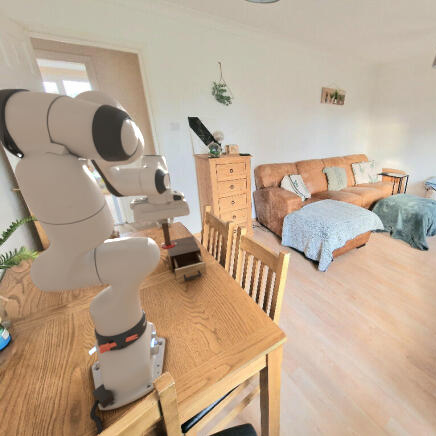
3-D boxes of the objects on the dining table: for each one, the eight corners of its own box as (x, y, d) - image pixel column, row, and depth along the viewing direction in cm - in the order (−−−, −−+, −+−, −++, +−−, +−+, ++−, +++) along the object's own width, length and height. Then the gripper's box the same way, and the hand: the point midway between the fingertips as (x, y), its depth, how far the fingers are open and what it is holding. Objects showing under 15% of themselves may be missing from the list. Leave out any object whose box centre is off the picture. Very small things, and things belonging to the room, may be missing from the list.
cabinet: (202, 264, 119) (200, 249, 116) (172, 272, 112) (169, 256, 109) (195, 249, 132) (193, 235, 129) (167, 255, 125) (165, 241, 122)
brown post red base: (176, 247, 102) (172, 223, 98) (162, 250, 99) (157, 225, 95) (174, 241, 106) (171, 218, 102) (160, 244, 104) (156, 221, 99)
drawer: (208, 280, 106) (207, 267, 104) (178, 289, 100) (176, 275, 98) (198, 259, 122) (197, 247, 119) (172, 265, 115) (170, 253, 113)
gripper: (128, 202, 87) (136, 236, 92) (188, 195, 97) (192, 226, 102) (128, 197, 92) (136, 229, 97) (185, 191, 102) (189, 221, 107)
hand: (165, 227), depth 100 cm, fingers closed on brown post red base, 2 cm apart
